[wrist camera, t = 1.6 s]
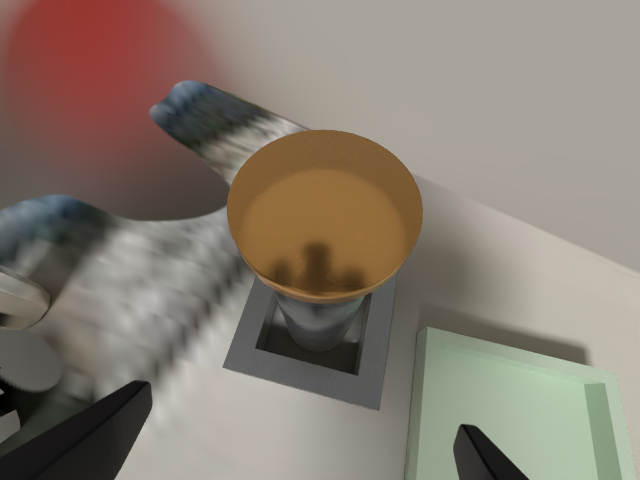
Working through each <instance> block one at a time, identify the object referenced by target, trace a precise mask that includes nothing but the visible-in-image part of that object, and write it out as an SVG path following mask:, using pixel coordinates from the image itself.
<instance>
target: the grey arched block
mask: <svg viewBox="0 0 640 480" xmlns="http://www.w3.org/2000/svg"><path fill="white" fill-rule="evenodd" d="M0 369H1V367H0ZM3 393H4V392H3V391H2V390H1V389H0V395H1V394H3ZM18 430H20V420H19V417H18V414H17V411H16V410H14V411H12V412H10V413H8V414H7V413H6V412H5V411H4V409H2V410H0V443H1V442H2V441H4V440H5V439H7V438H8V437H10V436H11V435H13V434H14V433H15V432H17V431H18Z"/></svg>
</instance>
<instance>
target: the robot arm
mask: <svg viewBox="0 0 640 480" xmlns="http://www.w3.org/2000/svg"><path fill="white" fill-rule="evenodd" d="M151 409H152V392H151V384H150V382H148V381H142V380H134V381H132V382H130V383H129V384H127V385H125V386H123V387H122V388H120V389H118V390H116V391H115V392H113V393H111V394H110V395H108V396H106V397H104V398H103V399H101V400H99V401H97V402H96V403H94V404H92V405H90V406H89V407H87V408H85V409H83V410H82V411H80V412H78V413H77V414H75V415H73V416H71V417H70V418H68V419H66V420H64V421H63V422H61V423H59V424H57V425H56V426H54V427H52V428H50V429H49V430H47V431H45V432H44V433H42V434H40V435H38V436H37V437H35V438H33V439H31V440H30V441H28V442H26V443H24V444H23V445H21V446H19V447H17V448H16V449H14V450H12V451H11V452H9V453H7V454H5V455H4V456H2V457H0V480H114V479H115V477H116V476H117V474H118V472H119V471H120V469H121V467H122V465H123V464H124V462H125V460H126V458H127V456H128V454H129V452H130V450H131V448H132V446H133V444H134V443H135V441H136V439H137V437H138V435H139V433H140V431H141V429H142V427H143V425H144V423H145V421H146V419H147V417H148V415H149V413H150V411H151ZM453 453H454V458H455V463H456V467H457V472H458V477H459V480H530V479H529V478H528V477H527V476H526V475H525V474H524V473H523V472H522V471H521V470H520V469H519V468H518V467H517V466H516V465H515V464H514V463H513V462H512V461H511V460H510V459H509V458H508V457H507V456H506V455H505V454H504V453H503V452H502V451H501V450H500V449H499V448H498V447H497V446H496V445H495V444H494V443H493V442H492V441H491V440H490V439H489V438H488V437H487V436H486V435H485V434H484V433H483V432H482V431H481V430H480V429H479V428H478V427H477V426H475V425H470V424H461V425H460V426H459V428H458V431H457V435H456V438H455V441H454V445H453Z"/></svg>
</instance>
